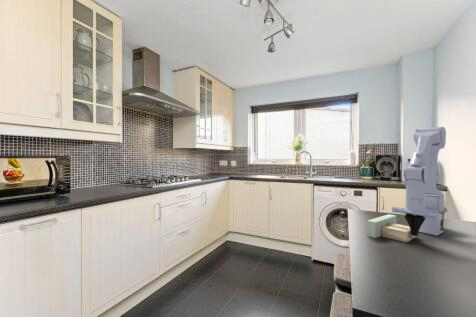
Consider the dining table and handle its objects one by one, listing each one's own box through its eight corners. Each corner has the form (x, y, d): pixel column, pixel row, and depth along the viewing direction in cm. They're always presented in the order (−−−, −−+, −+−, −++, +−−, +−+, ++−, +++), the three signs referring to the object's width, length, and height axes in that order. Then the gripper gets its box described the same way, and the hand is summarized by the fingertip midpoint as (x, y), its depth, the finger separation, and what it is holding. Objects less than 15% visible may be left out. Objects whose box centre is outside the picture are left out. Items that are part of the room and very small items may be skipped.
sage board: (388, 227, 98) (388, 214, 98) (396, 229, 96) (396, 215, 96) (366, 235, 87) (367, 220, 87) (375, 238, 84) (375, 222, 84)
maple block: (392, 232, 93) (392, 222, 93) (415, 238, 86) (415, 227, 86) (381, 236, 87) (381, 226, 87) (406, 243, 80) (406, 232, 81)
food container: (454, 232, 94) (454, 208, 94) (437, 230, 95) (438, 207, 95) (434, 224, 106) (434, 203, 106) (419, 223, 107) (420, 202, 107)
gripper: (388, 196, 86) (388, 231, 86) (437, 203, 74) (437, 243, 74) (396, 195, 90) (395, 228, 90) (443, 201, 78) (443, 239, 78)
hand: (414, 235), depth 82 cm, fingers closed
